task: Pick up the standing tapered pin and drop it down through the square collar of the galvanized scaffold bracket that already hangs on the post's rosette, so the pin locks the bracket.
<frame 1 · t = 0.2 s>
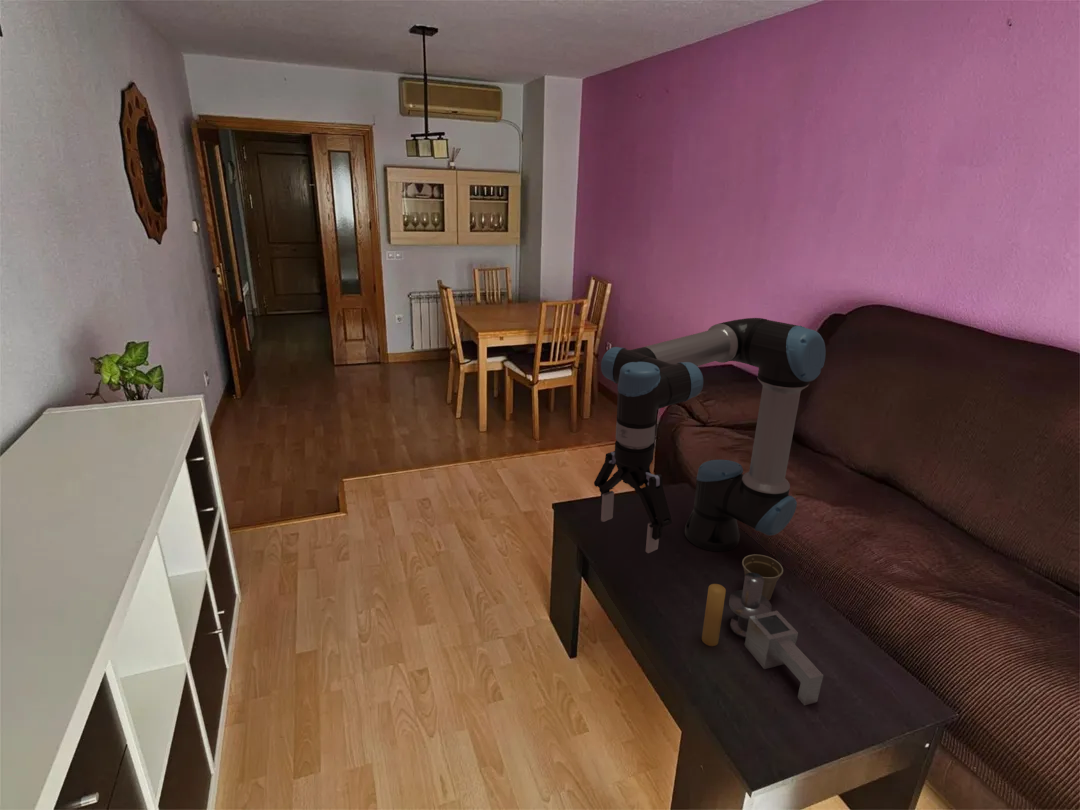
hand: (628, 534, 122), 27 cm above the table, fingers open, 13 cm apart
tapered pin: (710, 640, 131), on the table
flower pot: (757, 595, 146), on the table
rosette bracket: (767, 653, 128), on the table
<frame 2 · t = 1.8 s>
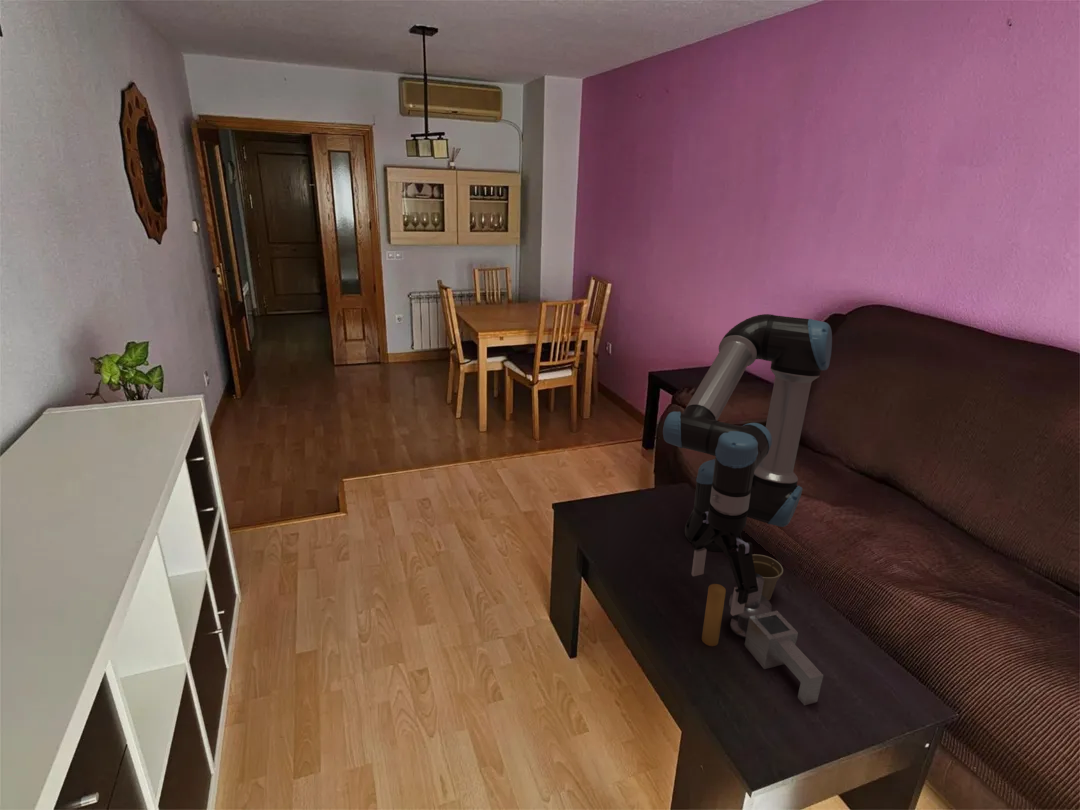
hand: (716, 592, 126), 13 cm above the table, fingers open, 13 cm apart
nothing on the table moved.
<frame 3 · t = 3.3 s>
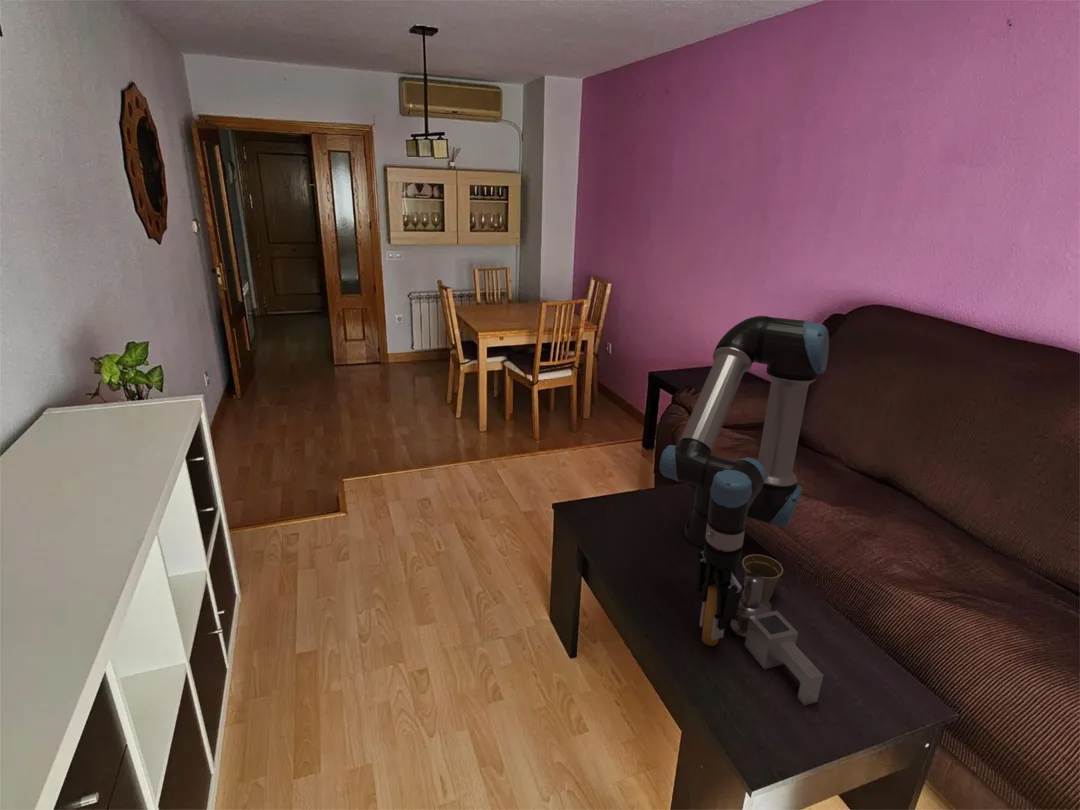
hand: (711, 630, 130), 3 cm above the table, fingers closed on tapered pin, 3 cm apart
tapered pin: (709, 639, 131), on the table, touching gripper
everything else where it was.
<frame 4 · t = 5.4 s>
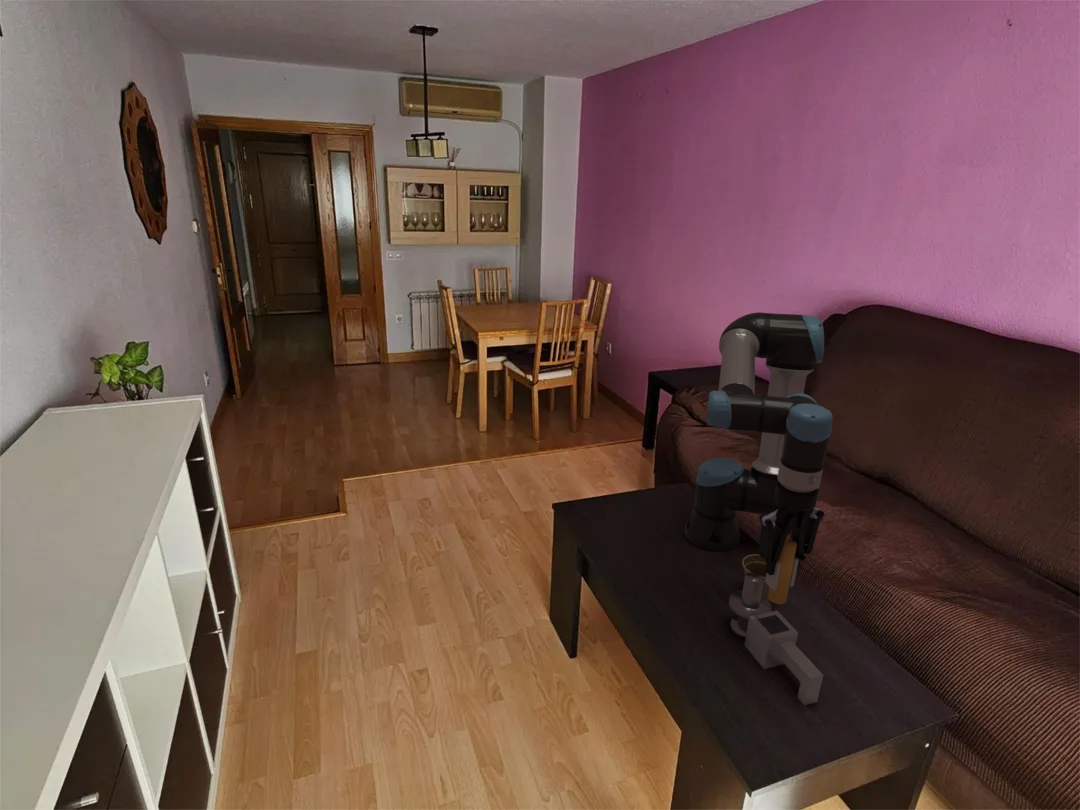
hand: (779, 583, 121), 19 cm above the table, fingers closed on tapered pin, 3 cm apart
tapered pin: (776, 598, 122), point 15 cm above the table, touching gripper
everything else where it was.
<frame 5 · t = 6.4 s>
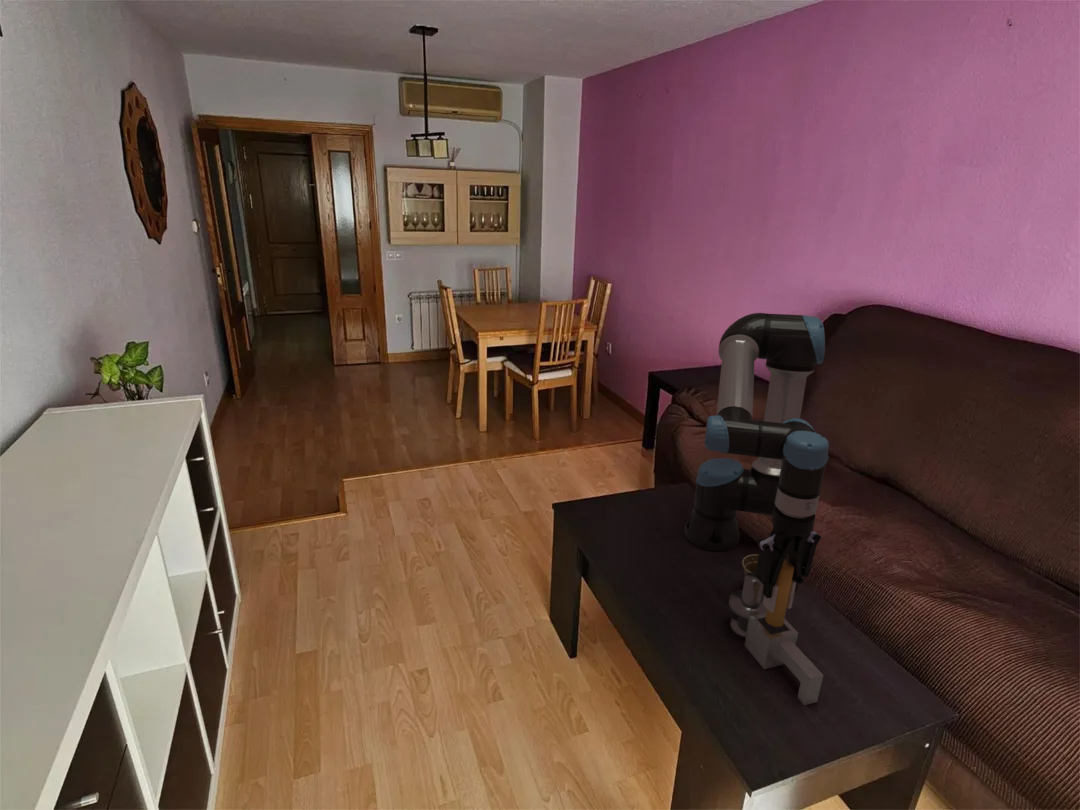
hand: (776, 606, 123), 13 cm above the table, fingers closed on tapered pin, 3 cm apart
tapered pin: (774, 620, 124), point 9 cm above the table, touching gripper
everything else where it was.
when the fingers open (9 cm above the table, at t = 7.3 s): tapered pin drops 3 cm, resting on rosette bracket.
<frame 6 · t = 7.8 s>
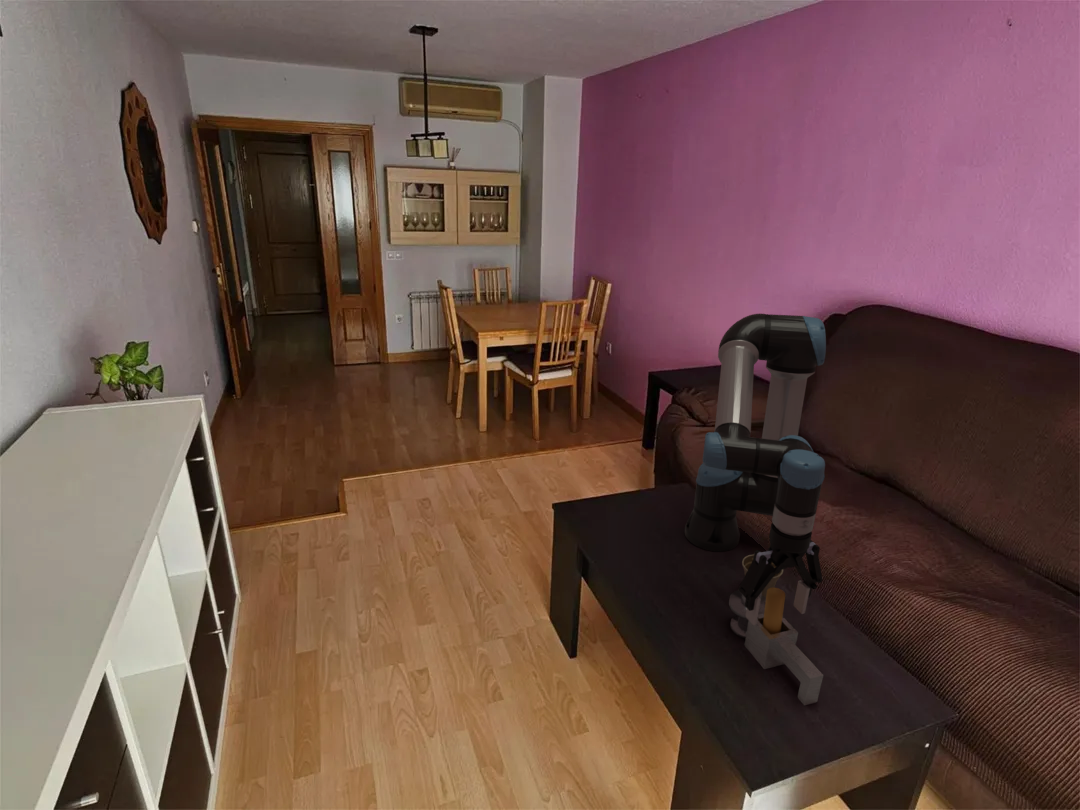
hand: (775, 614, 124), 11 cm above the table, fingers open, 11 cm apart
tapered pin: (769, 646, 127), point 2 cm above the table, touching rosette bracket
everything else where it was.
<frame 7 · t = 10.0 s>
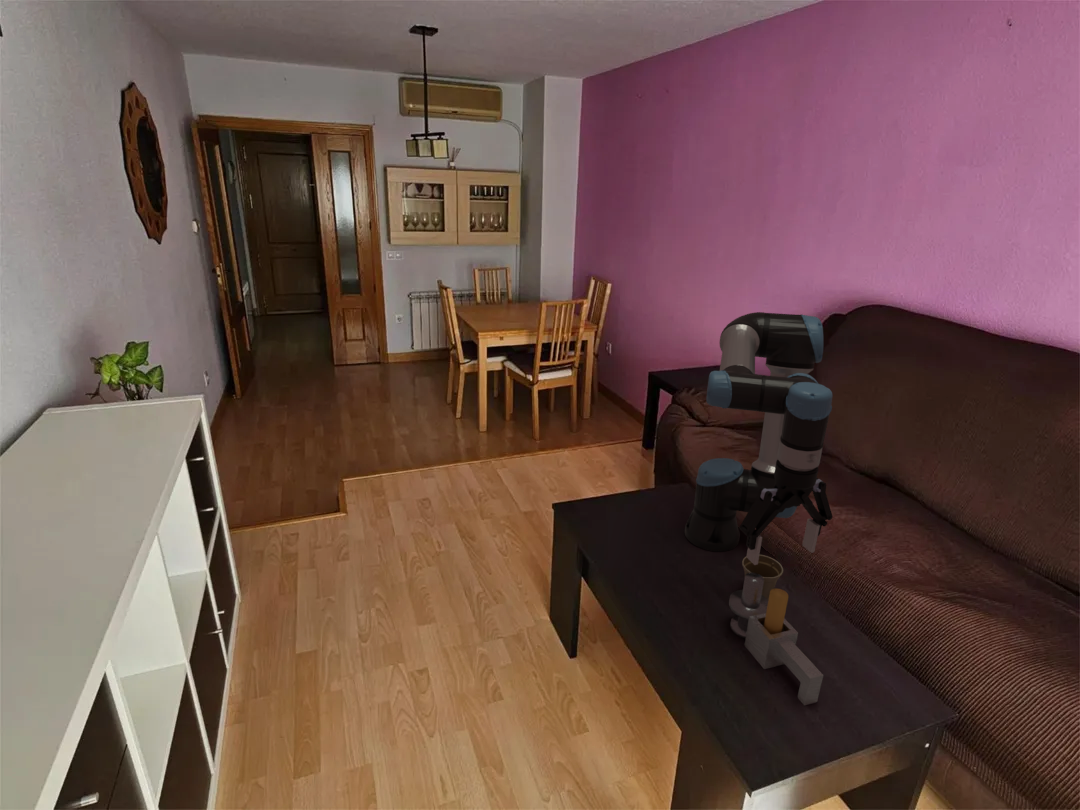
hand: (780, 554, 120), 24 cm above the table, fingers open, 13 cm apart
nothing on the table moved.
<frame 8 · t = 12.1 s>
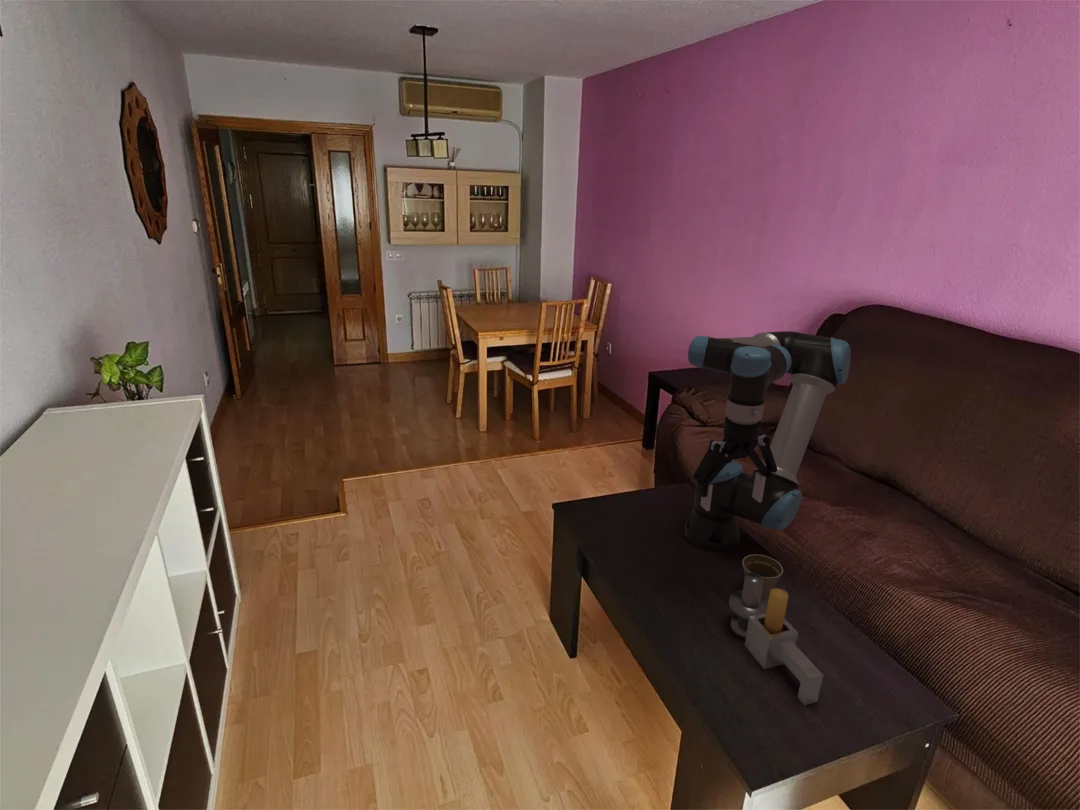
hand: (731, 503, 135), 27 cm above the table, fingers open, 13 cm apart
nothing on the table moved.
at the end: tapered pin 0.0 cm off-centre on the rosette bracket, point 2.0 cm above the rosette bracket's base; tapered pin tilted 0°; the gripper is holding nothing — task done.
